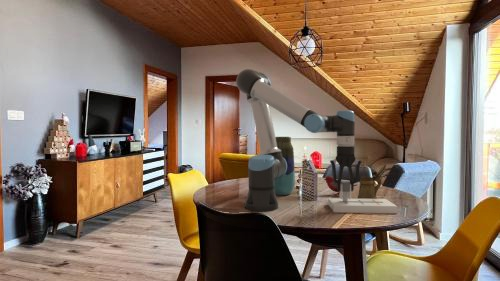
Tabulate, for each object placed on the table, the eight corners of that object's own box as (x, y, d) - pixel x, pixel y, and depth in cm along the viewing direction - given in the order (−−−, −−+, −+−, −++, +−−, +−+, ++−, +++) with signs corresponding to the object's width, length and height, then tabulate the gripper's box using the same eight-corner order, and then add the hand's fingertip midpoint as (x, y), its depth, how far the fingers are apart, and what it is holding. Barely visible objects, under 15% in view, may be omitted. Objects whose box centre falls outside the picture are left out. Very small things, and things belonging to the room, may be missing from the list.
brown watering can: (388, 202, 152) (388, 165, 151) (358, 201, 155) (358, 164, 155) (384, 198, 161) (385, 163, 160) (356, 197, 164) (356, 162, 163)
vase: (266, 195, 170) (266, 137, 169) (272, 190, 183) (272, 136, 182) (292, 197, 166) (292, 137, 165) (296, 192, 179) (296, 136, 178)
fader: (342, 202, 139) (343, 182, 139) (340, 199, 144) (340, 180, 144) (350, 202, 139) (350, 182, 138) (347, 199, 144) (347, 180, 143)
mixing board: (333, 212, 135) (333, 205, 135) (328, 204, 149) (328, 198, 149) (397, 213, 133) (397, 205, 133) (385, 205, 147) (385, 198, 147)
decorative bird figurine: (324, 193, 175) (324, 175, 174) (358, 195, 168) (358, 177, 168) (323, 194, 172) (323, 176, 172) (357, 196, 165) (358, 177, 165)
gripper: (328, 146, 137) (328, 200, 138) (366, 146, 136) (366, 200, 137) (325, 145, 145) (325, 196, 146) (361, 145, 144) (361, 196, 144)
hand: (345, 198), depth 141 cm, fingers closed on fader, 3 cm apart
